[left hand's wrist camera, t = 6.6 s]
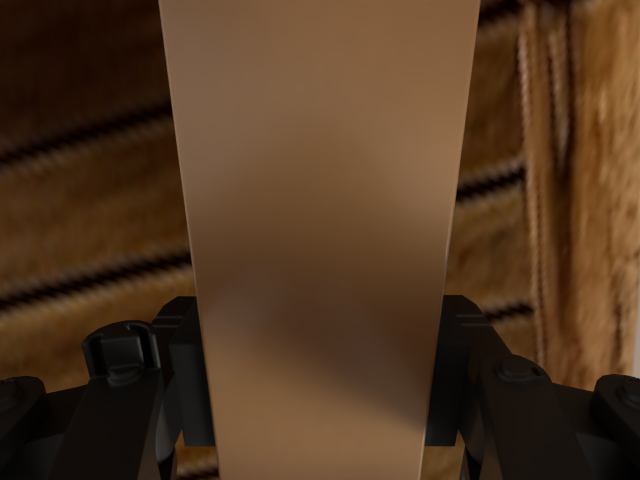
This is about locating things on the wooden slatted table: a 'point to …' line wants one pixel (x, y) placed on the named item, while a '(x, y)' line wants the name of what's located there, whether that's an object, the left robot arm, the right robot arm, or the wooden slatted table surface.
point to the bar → (319, 221)
